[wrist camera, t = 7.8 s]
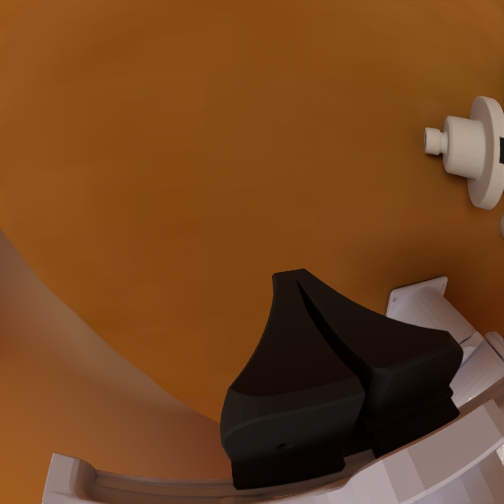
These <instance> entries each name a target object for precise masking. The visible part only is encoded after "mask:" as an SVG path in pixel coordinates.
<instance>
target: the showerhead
mask: <svg viewBox="0 0 504 504" xmlns="http://www.w3.org/2000/svg"><path fill="white" fill-rule="evenodd" d="M425 153H429V154H435V155H439V153H443V164H444V168H445V170H446V172H448V173H451V174H455V175H459V176H463V177H467V180H468V190H469V195H470V199H471V202H472V204H473V205H474V206H476V207H479V208H482V209H486V210H491V209H492V208H494V207H495V206H496V204H497V203H498V201H499V199H500V197H501V195H502V192H503V190H504V113H503V111H502V109H501V107H500V105H499V104H498V102H497V101H496V100H494V99H492V98H488V97H483V96H478V97H476V99H475V100H474V102H473V105H472V108H471V113H470V119H465V118H460V117H454V116H448V117H447V118H446V120H445V122H444V129H443V133H441V132H440V131H439V129H434V128H427V127H426V128H425Z"/></svg>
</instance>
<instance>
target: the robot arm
mask: <svg viewBox="0 0 504 504" xmlns="http://www.w3.org/2000/svg"><path fill="white" fill-rule="evenodd" d="M272 281H273V292H274V294H273V302H272V307H271V311H270V315H269V318H268V322H267V325H266V327H265V330H264V333H263V335H262V337H261V339H260V341H259V344H258V346H257V348H256V350H255V351H254V353H253V355H252V356H251V358H250V360H249V361H248V363H247V364H246V366H245V368H244V369H243V370H242V372H241V373H240V374H239V376H238V377H237V378H236V379H235V381H234V382H233V383H232V385H231V386H230V387H229V388H228V391H227V395H226V398H225V401H224V405H223V409H222V414H221V421H220V434H221V443H222V447H223V448H224V450H225V452H226V454H227V455H228V457H229V459H230V460H231V465H232V477H233V478H223V479H166V478H152V477H142V476H133V475H126V474H119V473H113V472H107V471H102V470H97V469H95V468H94V467H93V466H92V465H91V464H89V463H88V462H86V461H84V460H81V459H79V458H76V457H71V456H67V455H64V454H60V453H57V452H55V453H53V456H52V459H51V464H50V467H49V471H48V476H47V481H46V485H45V490H44V494H43V499H42V504H504V339H503V338H502V337H501V336H500V335H499V334H498V333H497V332H496V331H491V332H490V331H488V332H487V333H486V334H485V335H484V336H485V337H486V338H487V339H488V340H489V342H490V344H491V345H492V346H493V347H494V349H495V350H496V351H495V350H494V349H493V347H492V346H491V345H490V344H489V343H488V342H487V340H486V339H485V338H484V337H483V336H482V335H481V334H480V333H479V332H478V331H476V330H475V329H474V328H473V327H472V326H471V324H470V323H469V322H468V321H467V320H466V319H465V318H464V317H463V316H462V315H461V314H460V313H459V312H458V311H457V310H456V309H455V308H454V307H453V306H452V305H451V304H450V303H449V302H448V301H447V300H446V299H445V298H444V297H443V295H444V292H445V288H446V285H447V281H448V278H447V277H446V276H442V277H439V278H435V279H432V280H428V281H425V282H421V283H417V284H414V285H410V286H406V287H402V288H398V289H395V290H393V291H392V292H391V294H390V298H389V303H388V308H387V313H386V316H384V315H381V314H379V313H376V312H374V311H371V310H369V309H367V308H365V307H363V306H361V305H359V304H357V303H355V302H353V301H351V300H350V299H348V298H346V297H345V296H343V295H341V294H340V293H338V292H337V291H335V290H334V289H332V288H331V287H329V286H328V285H326V284H325V283H323V282H322V281H321V280H319V279H318V278H316V277H315V276H314V275H312V274H311V273H310V272H308V271H307V270H306V269H298V270H292V271H285V272H279V273H274V274H273V276H272ZM295 493H296V494H295ZM290 494H292V495H290ZM284 495H288V496H284ZM277 496H284V497H279V498H273V497H277Z"/></svg>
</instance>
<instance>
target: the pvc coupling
mask: <svg viewBox="0 0 504 504" xmlns="http://www.w3.org/2000/svg"><path fill="white" fill-rule="evenodd" d="M499 232H500V236H501V237H502V238H504V213H503V215H502V218H501V221H500V226H499Z"/></svg>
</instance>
